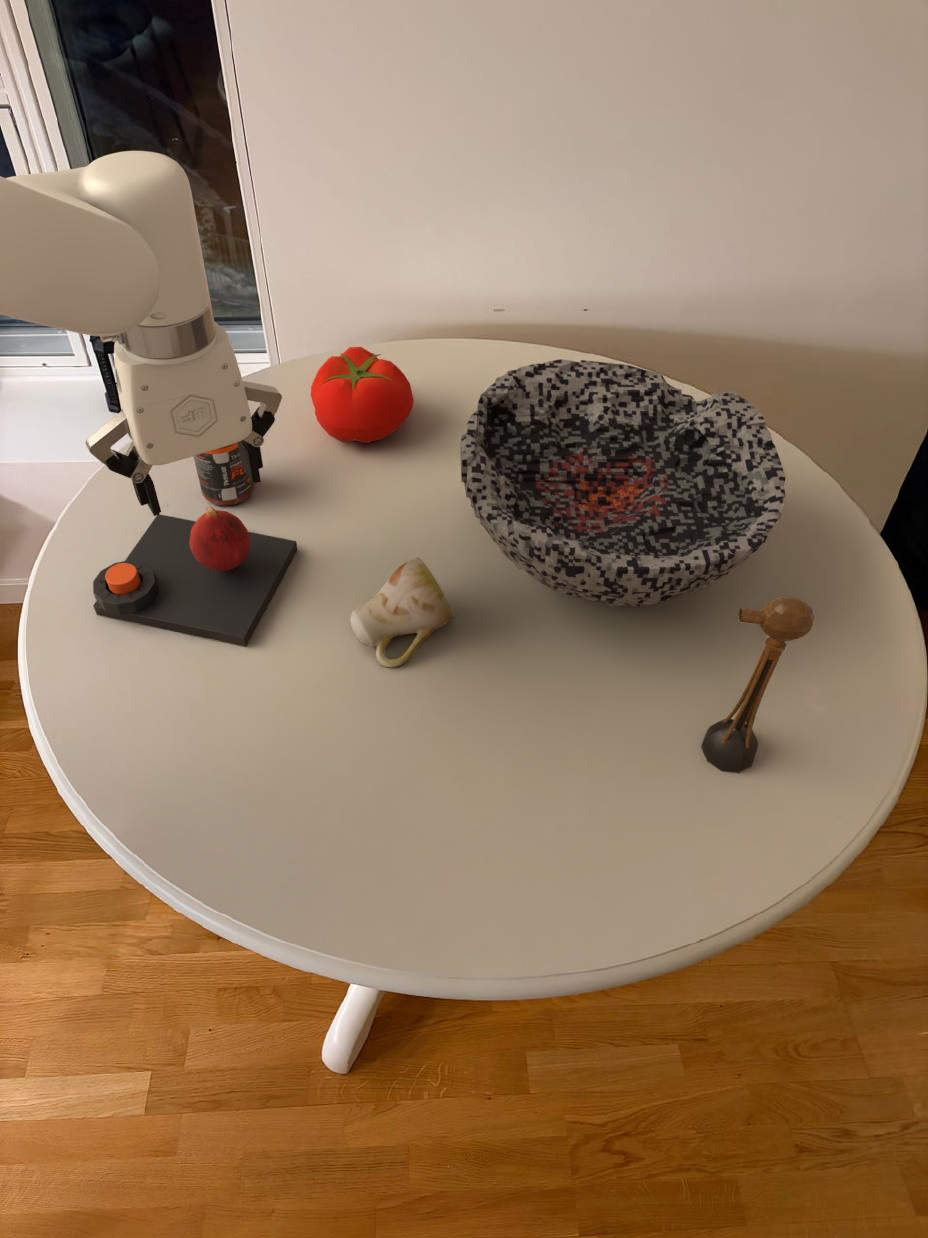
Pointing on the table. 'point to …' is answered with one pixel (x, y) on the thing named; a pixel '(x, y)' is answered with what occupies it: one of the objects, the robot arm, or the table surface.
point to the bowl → (619, 480)
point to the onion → (219, 540)
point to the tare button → (122, 578)
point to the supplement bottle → (223, 476)
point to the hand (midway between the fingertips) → (203, 490)
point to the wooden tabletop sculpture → (756, 683)
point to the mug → (402, 611)
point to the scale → (196, 585)
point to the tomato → (360, 396)
